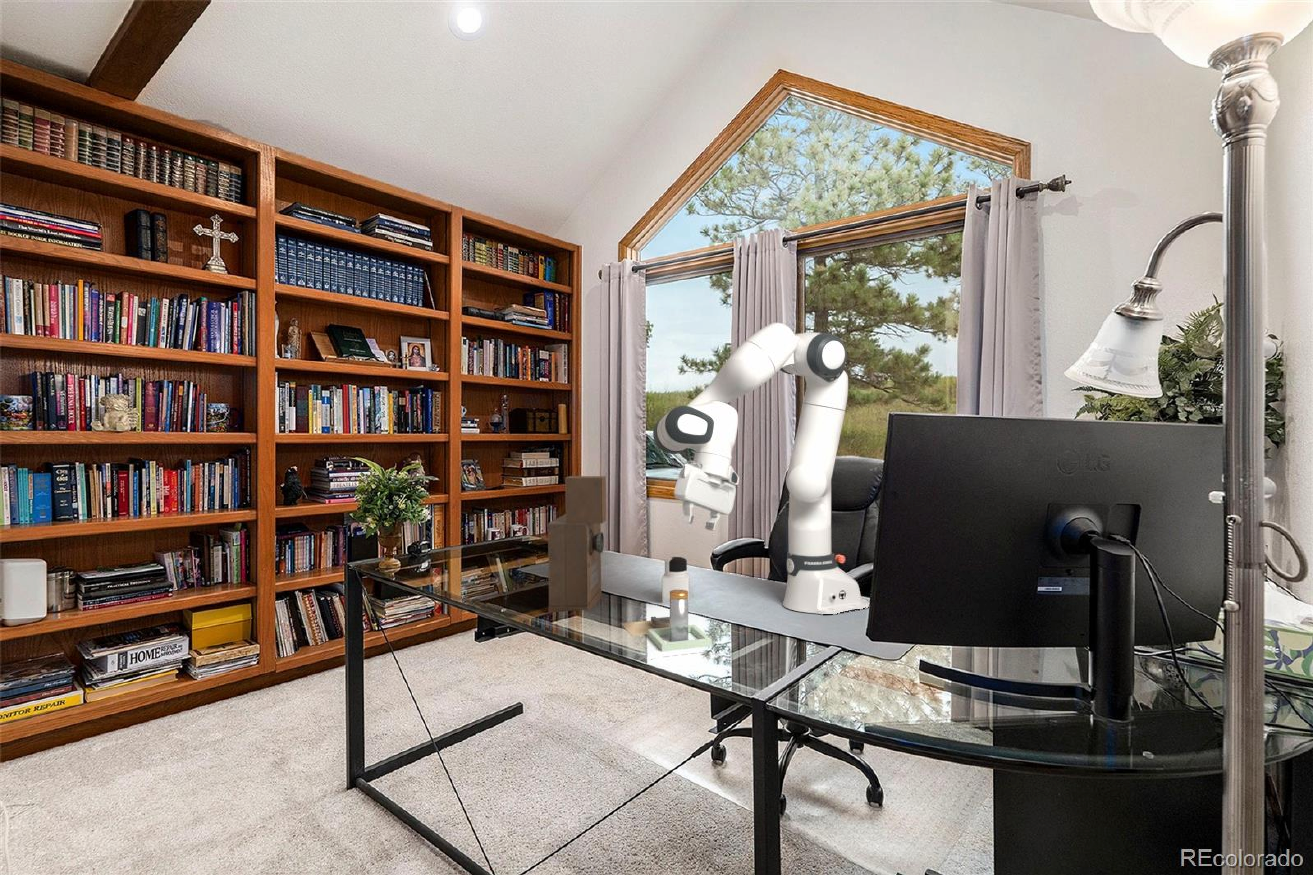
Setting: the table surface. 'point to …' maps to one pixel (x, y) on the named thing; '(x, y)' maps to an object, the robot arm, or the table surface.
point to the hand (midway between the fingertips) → (698, 526)
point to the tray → (678, 645)
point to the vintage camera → (577, 546)
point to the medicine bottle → (675, 577)
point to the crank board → (646, 625)
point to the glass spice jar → (678, 615)
